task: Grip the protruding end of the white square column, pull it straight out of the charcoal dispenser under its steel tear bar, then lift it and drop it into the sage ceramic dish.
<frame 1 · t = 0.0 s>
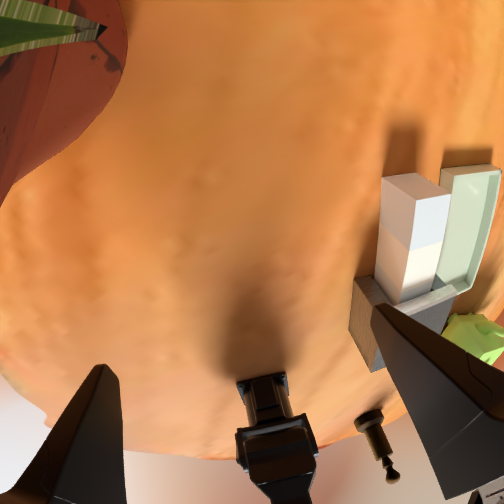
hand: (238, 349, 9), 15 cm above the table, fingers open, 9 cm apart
dark turned peg: (367, 416, 53), on the table
kettle: (451, 326, 40), on the table
dish: (456, 234, 28), on the table
potted plant: (77, 94, 15), on the table
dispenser: (385, 296, 31), on the table
white square column: (394, 238, 26), on the table
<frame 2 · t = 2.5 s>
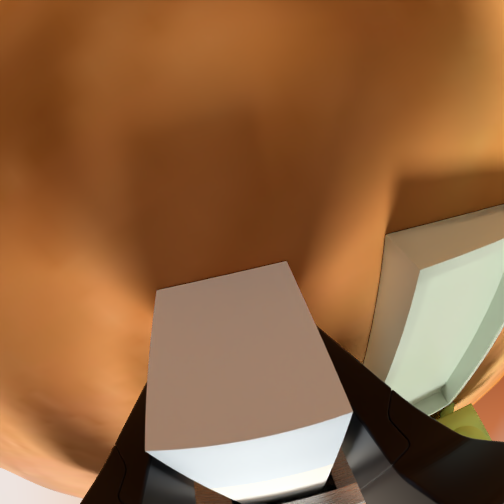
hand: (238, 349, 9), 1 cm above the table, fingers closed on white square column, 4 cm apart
kettle: (421, 422, 25), on the table
dish: (428, 346, 14), on the table
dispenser: (272, 439, 17), on the table
white square column: (254, 388, 12), on the table, touching gripper
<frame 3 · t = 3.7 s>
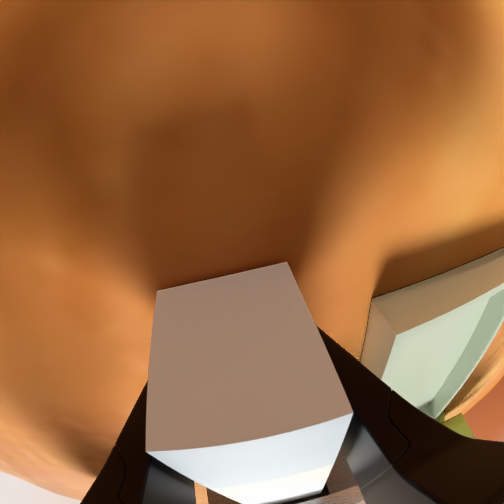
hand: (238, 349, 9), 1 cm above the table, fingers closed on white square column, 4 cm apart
kettle: (413, 430, 27), on the table
dish: (413, 372, 16), on the table
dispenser: (274, 450, 18), on the table
white square column: (254, 389, 12), on the table, touching gripper
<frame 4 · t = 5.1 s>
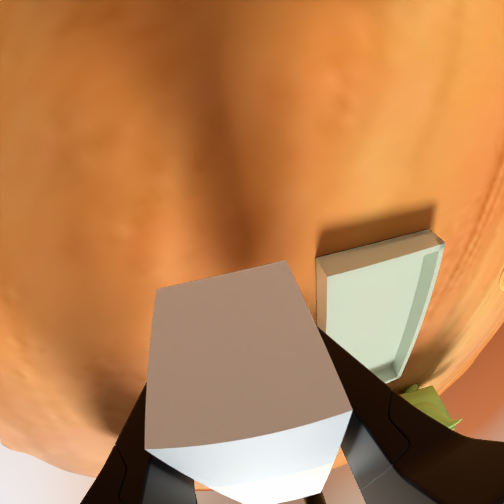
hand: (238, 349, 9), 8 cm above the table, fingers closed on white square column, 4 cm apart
dark turned peg: (304, 465, 48), on the table
kettle: (388, 398, 34), on the table
dish: (366, 327, 23), on the table
white square column: (254, 387, 12), point 7 cm above the table, touching gripper
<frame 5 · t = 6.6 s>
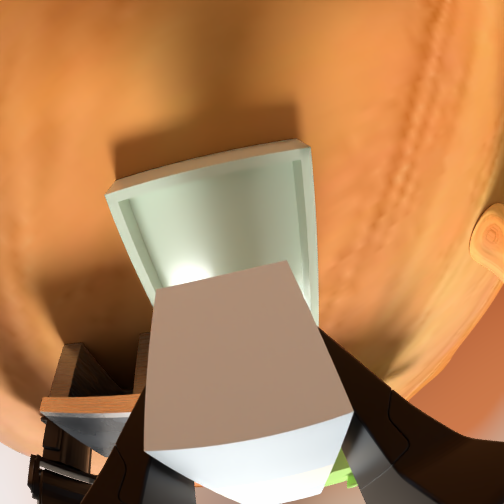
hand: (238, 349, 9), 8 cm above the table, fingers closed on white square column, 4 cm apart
kettle: (329, 400, 30), on the table
dish: (236, 291, 18), on the table
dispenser: (132, 369, 21), on the table
beer glass: (487, 231, 20), on the table
white square column: (254, 388, 12), point 7 cm above the table, touching gripper
when the fingers open (4 cm above the table, at t = 7.6 s): white square column drops 2 cm, resting on dish.
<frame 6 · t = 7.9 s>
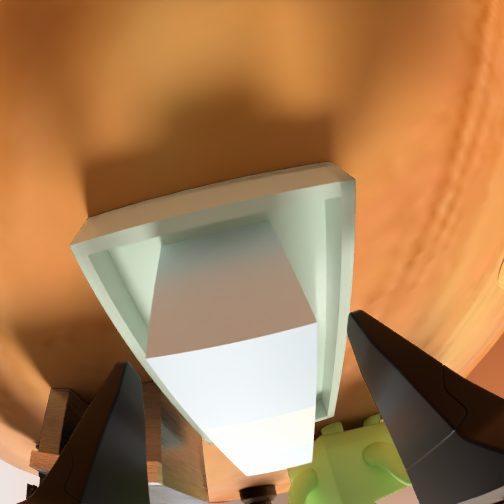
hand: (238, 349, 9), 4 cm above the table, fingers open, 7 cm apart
dark turned peg: (256, 488, 39), on the table
kettle: (340, 430, 26), on the table
dish: (246, 344, 15), on the table
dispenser: (127, 414, 17), on the table
white square column: (247, 349, 14), resting on dish
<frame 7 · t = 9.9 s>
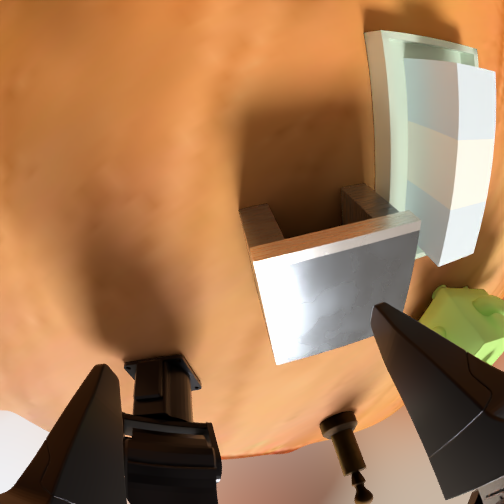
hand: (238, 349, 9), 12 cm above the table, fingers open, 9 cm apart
dark turned peg: (336, 418, 44), on the table
kettle: (440, 304, 30), on the table
dish: (423, 149, 18), on the table
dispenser: (309, 244, 21), on the table
white square column: (427, 148, 18), resting on dish
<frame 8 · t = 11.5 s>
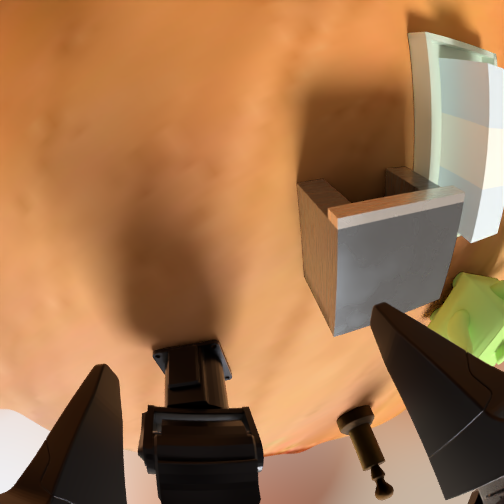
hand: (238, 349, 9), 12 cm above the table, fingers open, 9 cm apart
dark turned peg: (353, 414, 43), on the table
kettle: (458, 293, 30), on the table
dish: (452, 139, 19), on the table
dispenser: (355, 222, 21), on the table
white square column: (456, 139, 18), resting on dish
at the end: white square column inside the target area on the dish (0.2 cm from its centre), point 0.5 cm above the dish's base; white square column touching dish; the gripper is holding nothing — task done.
